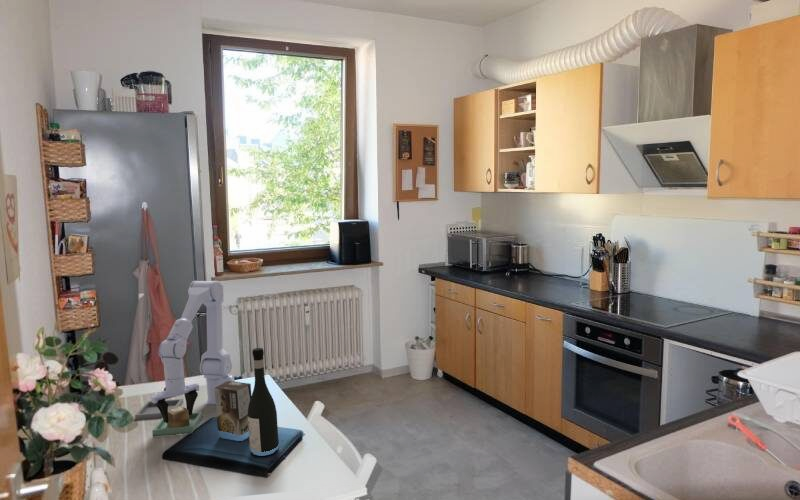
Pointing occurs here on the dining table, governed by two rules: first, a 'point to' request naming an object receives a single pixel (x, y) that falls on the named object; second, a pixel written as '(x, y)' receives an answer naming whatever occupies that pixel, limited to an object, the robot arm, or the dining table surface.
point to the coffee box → (232, 407)
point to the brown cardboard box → (178, 417)
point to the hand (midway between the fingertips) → (178, 418)
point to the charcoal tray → (156, 409)
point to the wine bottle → (261, 410)
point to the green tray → (165, 430)
